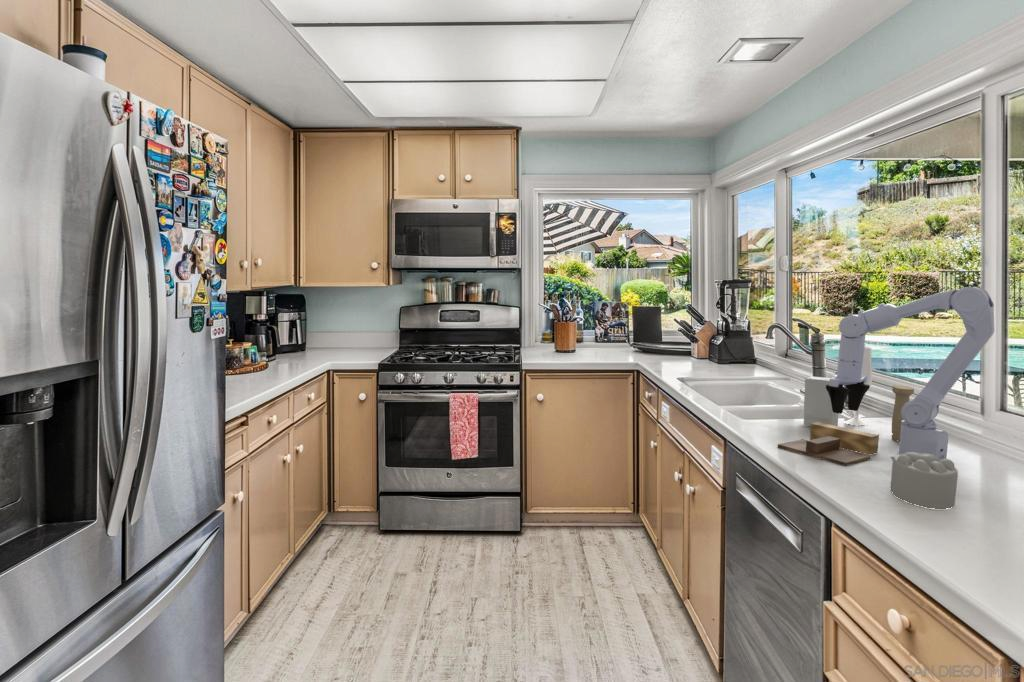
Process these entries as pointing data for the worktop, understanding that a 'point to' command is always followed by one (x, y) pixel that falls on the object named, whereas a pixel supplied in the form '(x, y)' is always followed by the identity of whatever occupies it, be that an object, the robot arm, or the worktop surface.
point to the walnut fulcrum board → (825, 450)
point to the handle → (899, 407)
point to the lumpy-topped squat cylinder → (924, 480)
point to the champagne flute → (865, 372)
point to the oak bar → (847, 437)
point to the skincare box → (818, 402)
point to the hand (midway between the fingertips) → (845, 411)
